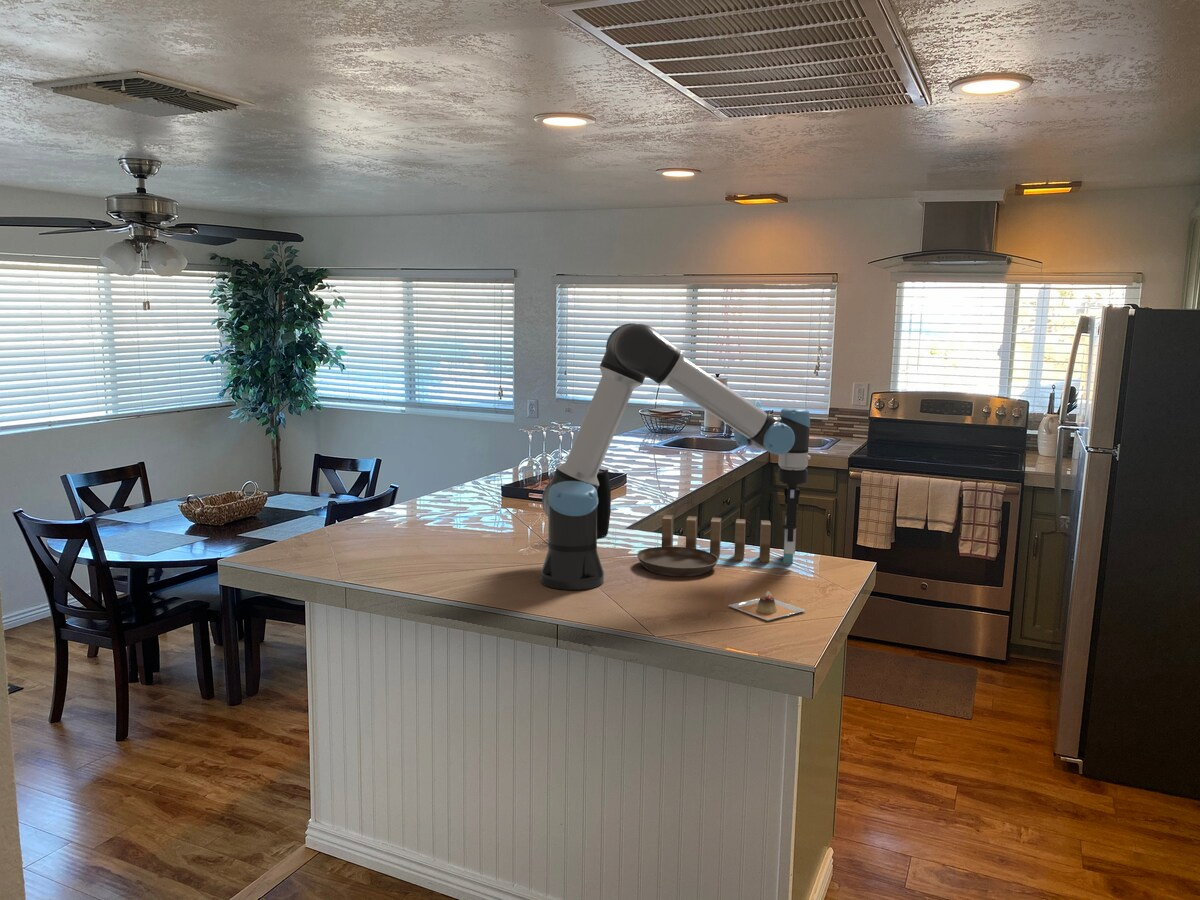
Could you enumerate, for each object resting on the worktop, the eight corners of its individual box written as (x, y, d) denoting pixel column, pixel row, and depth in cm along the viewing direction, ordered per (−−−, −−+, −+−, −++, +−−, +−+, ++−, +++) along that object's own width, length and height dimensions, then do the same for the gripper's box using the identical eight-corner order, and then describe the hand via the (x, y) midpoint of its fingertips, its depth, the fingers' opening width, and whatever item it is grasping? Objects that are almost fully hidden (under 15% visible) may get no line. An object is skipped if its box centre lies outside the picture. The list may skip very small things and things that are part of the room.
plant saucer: (723, 562, 234) (723, 549, 233) (710, 583, 214) (710, 570, 213) (647, 555, 239) (647, 543, 239) (627, 575, 220) (628, 562, 219)
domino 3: (718, 558, 236) (720, 521, 234) (709, 558, 236) (710, 521, 235) (720, 554, 241) (721, 518, 239) (711, 553, 241) (712, 517, 240)
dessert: (767, 625, 185) (768, 603, 184) (727, 610, 195) (728, 589, 194) (806, 615, 192) (807, 593, 191) (765, 601, 202) (766, 580, 201)
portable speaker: (615, 535, 261) (617, 469, 258) (592, 540, 254) (593, 473, 251) (595, 530, 267) (596, 465, 264) (572, 534, 260) (573, 469, 257)
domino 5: (769, 561, 233) (771, 524, 232) (760, 561, 233) (761, 524, 232) (768, 557, 238) (769, 520, 237) (759, 556, 238) (760, 520, 237)
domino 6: (792, 563, 232) (794, 526, 231) (783, 562, 232) (784, 525, 231) (792, 558, 237) (794, 522, 235) (783, 558, 237) (785, 521, 236)
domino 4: (743, 560, 234) (744, 523, 233) (734, 559, 235) (735, 522, 234) (744, 555, 239) (745, 519, 238) (735, 555, 240) (736, 518, 238)
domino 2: (694, 557, 237) (695, 520, 236) (685, 556, 238) (686, 520, 236) (696, 552, 242) (697, 516, 241) (687, 551, 242) (688, 516, 241)
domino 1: (670, 555, 238) (671, 519, 237) (661, 554, 239) (662, 518, 238) (672, 550, 243) (673, 515, 242) (663, 550, 244) (664, 514, 242)
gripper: (808, 476, 218) (804, 559, 221) (806, 461, 242) (803, 537, 245) (777, 474, 220) (774, 557, 223) (778, 460, 244) (775, 535, 247)
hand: (789, 547), depth 234 cm, fingers open, 13 cm apart
